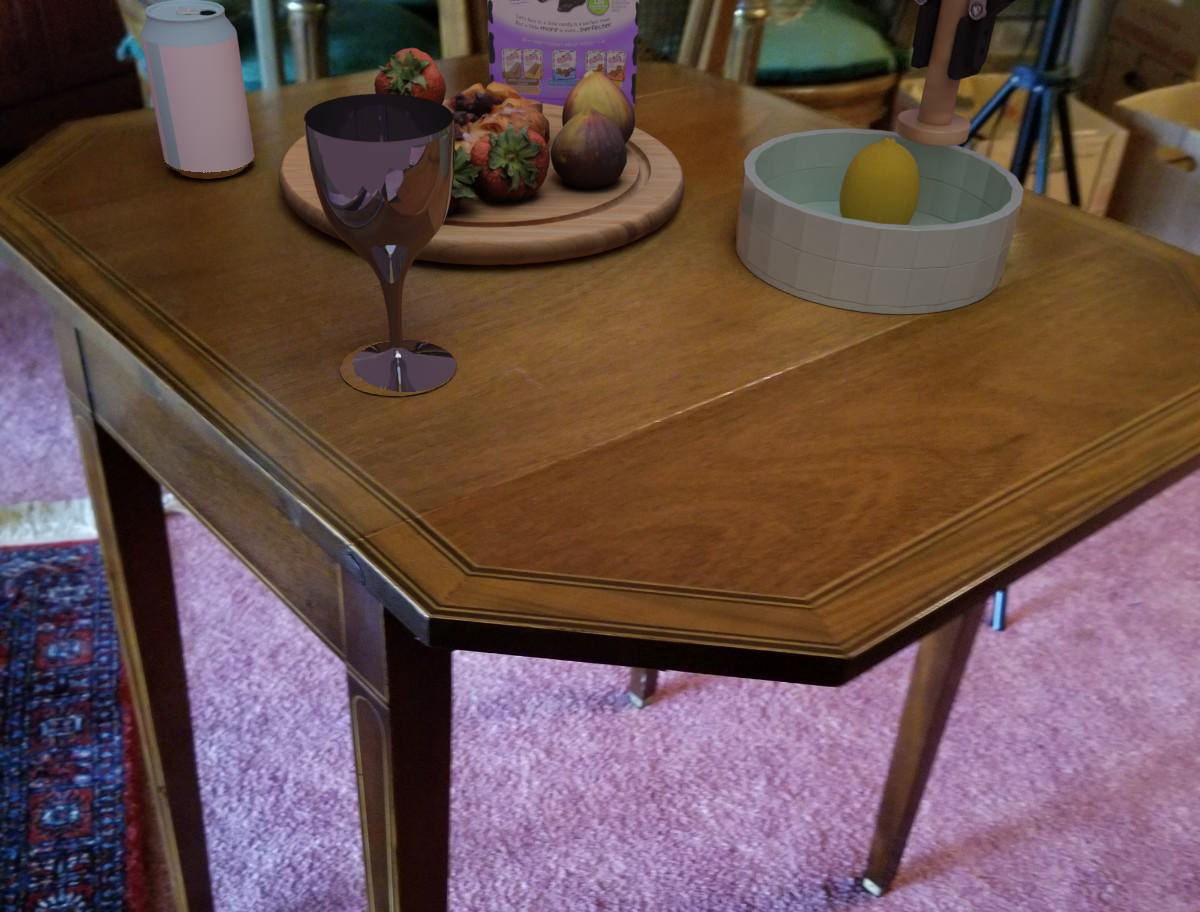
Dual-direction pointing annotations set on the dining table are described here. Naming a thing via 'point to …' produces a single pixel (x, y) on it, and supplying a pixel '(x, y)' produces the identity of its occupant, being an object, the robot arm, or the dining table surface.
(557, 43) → the candy box
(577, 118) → the wooden plate
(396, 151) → the wine glass
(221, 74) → the can
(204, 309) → the dining table surface
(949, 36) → the stirrer
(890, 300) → the bowl
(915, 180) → the lemon
